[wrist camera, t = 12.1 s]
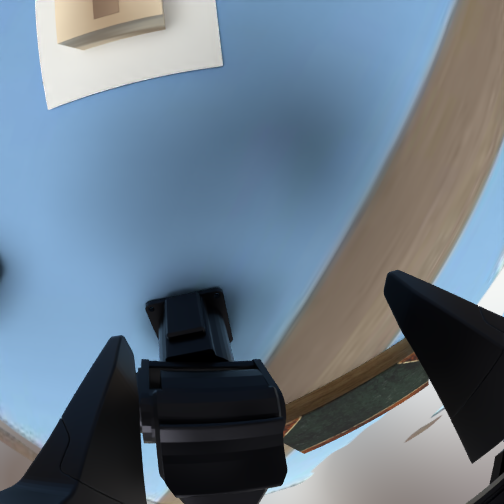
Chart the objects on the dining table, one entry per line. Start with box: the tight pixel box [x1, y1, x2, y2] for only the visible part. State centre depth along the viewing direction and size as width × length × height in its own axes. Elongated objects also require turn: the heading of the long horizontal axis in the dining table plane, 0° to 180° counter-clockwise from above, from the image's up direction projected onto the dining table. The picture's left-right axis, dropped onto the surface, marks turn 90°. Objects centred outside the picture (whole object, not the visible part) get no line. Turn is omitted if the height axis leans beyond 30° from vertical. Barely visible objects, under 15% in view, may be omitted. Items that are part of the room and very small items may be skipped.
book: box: [283, 338, 429, 454], centre depth 41 cm, size 17×4×25 cm
